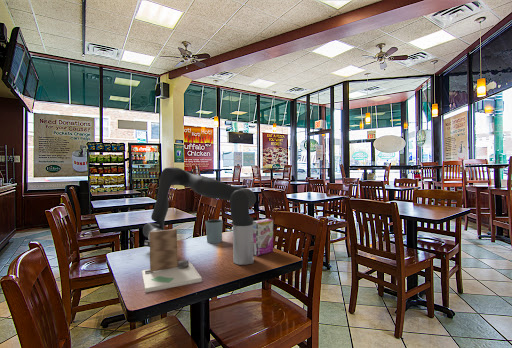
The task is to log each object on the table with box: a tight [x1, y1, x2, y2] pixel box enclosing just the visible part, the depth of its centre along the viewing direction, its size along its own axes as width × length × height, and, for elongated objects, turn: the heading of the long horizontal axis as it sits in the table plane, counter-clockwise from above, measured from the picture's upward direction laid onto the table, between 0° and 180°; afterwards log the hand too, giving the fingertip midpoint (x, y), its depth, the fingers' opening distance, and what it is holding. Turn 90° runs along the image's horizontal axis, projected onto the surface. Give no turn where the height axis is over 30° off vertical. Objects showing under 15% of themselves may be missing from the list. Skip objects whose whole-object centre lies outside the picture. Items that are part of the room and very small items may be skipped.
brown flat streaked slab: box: [145, 228, 190, 273], centre depth 115 cm, size 17×4×16 cm, turn 116°
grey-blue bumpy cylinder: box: [205, 219, 224, 245], centre depth 163 cm, size 10×10×12 cm
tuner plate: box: [141, 262, 203, 294], centre depth 111 cm, size 20×18×2 cm
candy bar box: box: [253, 218, 274, 257], centre depth 141 cm, size 11×5×16 cm, turn 131°
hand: (161, 246), depth 119 cm, fingers closed
